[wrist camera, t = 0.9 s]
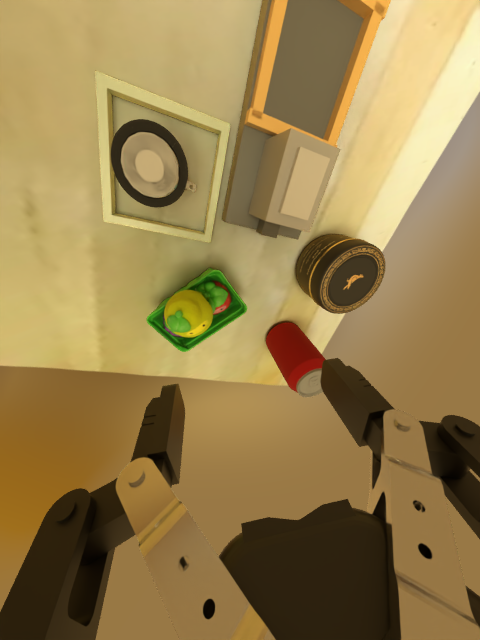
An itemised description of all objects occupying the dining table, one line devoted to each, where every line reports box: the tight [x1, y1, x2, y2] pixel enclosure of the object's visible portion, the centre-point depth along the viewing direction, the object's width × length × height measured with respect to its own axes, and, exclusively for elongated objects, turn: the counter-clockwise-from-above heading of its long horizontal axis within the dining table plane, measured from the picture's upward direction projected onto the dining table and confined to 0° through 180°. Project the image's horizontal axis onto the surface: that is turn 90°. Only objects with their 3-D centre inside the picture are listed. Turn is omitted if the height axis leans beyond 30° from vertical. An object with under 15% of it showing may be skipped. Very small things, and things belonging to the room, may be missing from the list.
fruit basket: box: [147, 268, 247, 352], centre depth 28 cm, size 11×9×11 cm
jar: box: [296, 234, 385, 314], centre depth 31 cm, size 10×10×8 cm
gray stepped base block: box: [222, 0, 391, 239], centre depth 21 cm, size 10×20×9 cm, turn 166°
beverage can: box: [266, 322, 326, 397], centre depth 36 cm, size 7×7×12 cm
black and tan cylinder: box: [111, 119, 197, 207], centre depth 20 cm, size 7×5×10 cm
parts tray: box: [95, 70, 231, 243], centre depth 23 cm, size 12×12×2 cm
